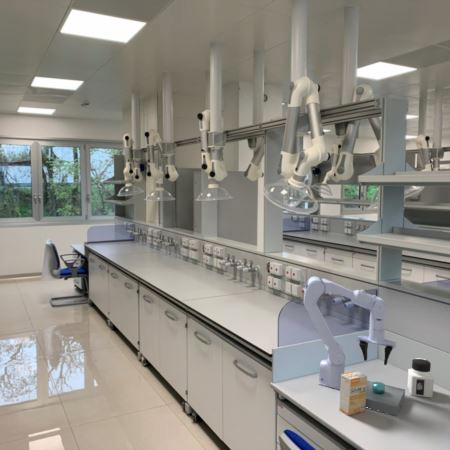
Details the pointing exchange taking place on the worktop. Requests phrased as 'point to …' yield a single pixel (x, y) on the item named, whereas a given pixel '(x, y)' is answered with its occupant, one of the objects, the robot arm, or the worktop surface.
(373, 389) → the plunger
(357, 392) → the supplement box
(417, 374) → the container
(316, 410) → the worktop surface
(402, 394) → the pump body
